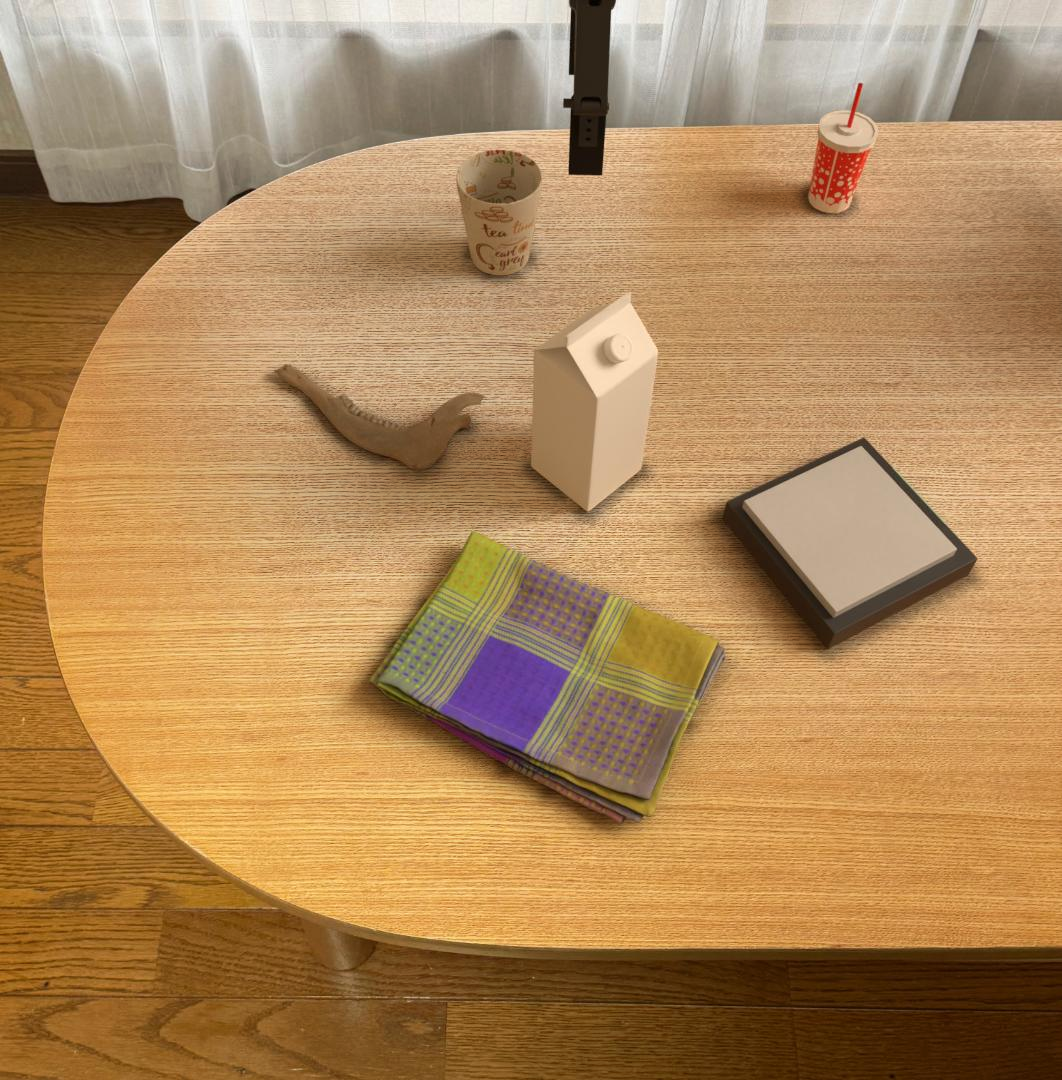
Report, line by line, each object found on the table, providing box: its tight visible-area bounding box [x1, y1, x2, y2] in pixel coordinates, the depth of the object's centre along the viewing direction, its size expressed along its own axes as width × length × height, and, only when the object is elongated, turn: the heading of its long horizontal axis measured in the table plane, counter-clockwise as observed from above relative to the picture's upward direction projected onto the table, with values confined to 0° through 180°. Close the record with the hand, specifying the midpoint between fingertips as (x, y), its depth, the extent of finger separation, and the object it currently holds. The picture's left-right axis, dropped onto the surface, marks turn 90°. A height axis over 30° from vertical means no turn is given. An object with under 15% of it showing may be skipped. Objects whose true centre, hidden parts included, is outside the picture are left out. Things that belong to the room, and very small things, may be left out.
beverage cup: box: [807, 82, 880, 214], centre depth 122 cm, size 6×6×14 cm
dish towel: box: [367, 530, 726, 825], centre depth 92 cm, size 18×24×3 cm
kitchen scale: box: [721, 437, 979, 650], centre depth 99 cm, size 15×15×4 cm
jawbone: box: [273, 363, 487, 470], centre depth 107 cm, size 9×20×2 cm, turn 78°
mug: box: [455, 149, 543, 276], centre depth 118 cm, size 8×13×10 cm, turn 166°
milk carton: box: [530, 291, 659, 512], centre depth 98 cm, size 7×7×19 cm
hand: (584, 121), depth 98 cm, fingers open, 13 cm apart
